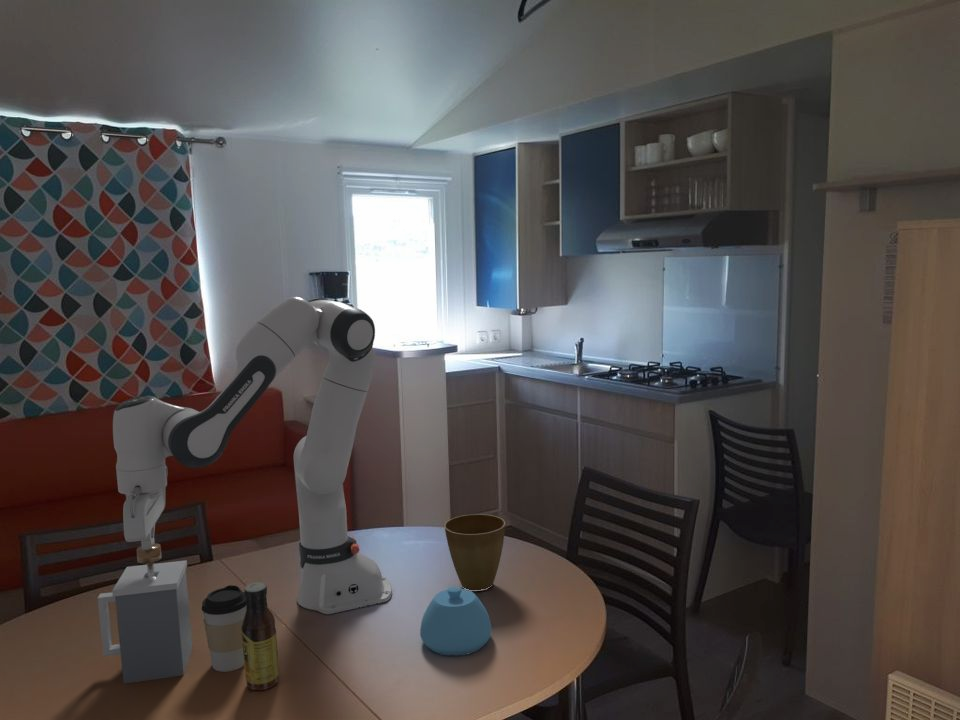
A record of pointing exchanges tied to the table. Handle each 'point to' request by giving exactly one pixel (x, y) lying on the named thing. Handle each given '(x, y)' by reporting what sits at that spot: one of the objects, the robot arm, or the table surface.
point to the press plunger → (149, 557)
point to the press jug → (149, 622)
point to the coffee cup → (225, 627)
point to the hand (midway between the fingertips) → (148, 547)
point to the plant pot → (475, 548)
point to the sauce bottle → (259, 640)
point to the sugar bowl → (455, 623)
